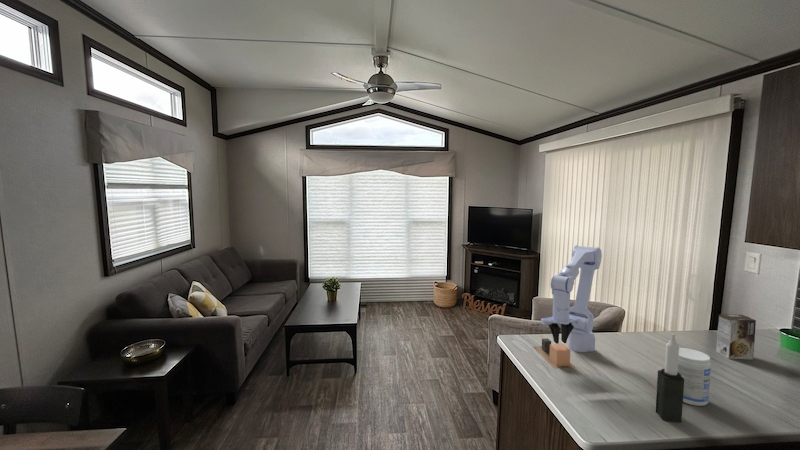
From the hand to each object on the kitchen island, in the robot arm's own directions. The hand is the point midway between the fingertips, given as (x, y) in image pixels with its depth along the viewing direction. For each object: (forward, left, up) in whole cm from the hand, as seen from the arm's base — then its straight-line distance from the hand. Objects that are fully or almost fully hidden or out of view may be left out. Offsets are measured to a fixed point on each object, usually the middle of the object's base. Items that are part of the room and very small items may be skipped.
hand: (559, 342), depth 129 cm
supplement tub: (-30, +23, -10) cm, 39 cm away
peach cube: (0, 0, -8) cm, 8 cm away
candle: (-16, +31, -10) cm, 36 cm away
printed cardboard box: (-74, -2, -10) cm, 75 cm away
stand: (0, -5, -9) cm, 11 cm away
